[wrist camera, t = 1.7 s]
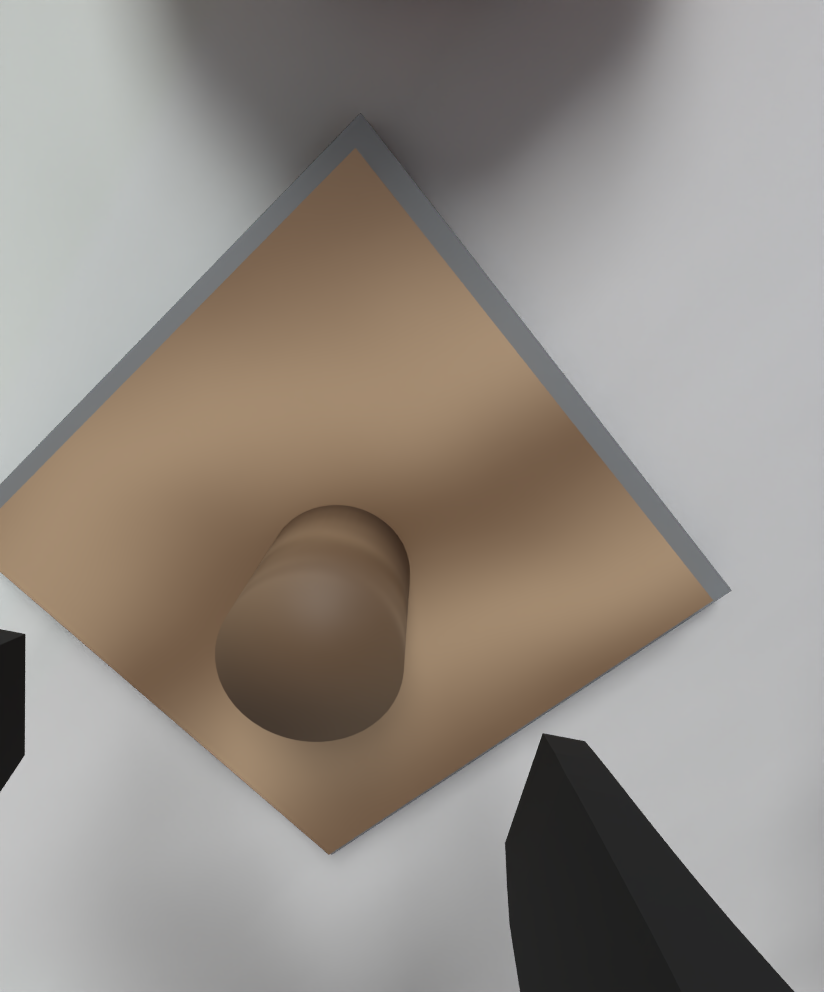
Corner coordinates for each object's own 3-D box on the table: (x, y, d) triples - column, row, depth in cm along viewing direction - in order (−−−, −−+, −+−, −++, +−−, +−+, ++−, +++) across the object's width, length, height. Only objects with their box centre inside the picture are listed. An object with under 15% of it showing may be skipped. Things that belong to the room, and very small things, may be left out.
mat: (719, 579, 15) (731, 590, 14) (334, 836, 17) (331, 854, 17) (363, 122, 12) (361, 112, 11) (-26, 521, 15) (-45, 530, 14)
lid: (701, 588, 14) (811, 702, 10) (332, 835, 17) (302, 1004, 13) (359, 154, 11) (321, 76, 7) (-15, 533, 14) (-192, 625, 10)
